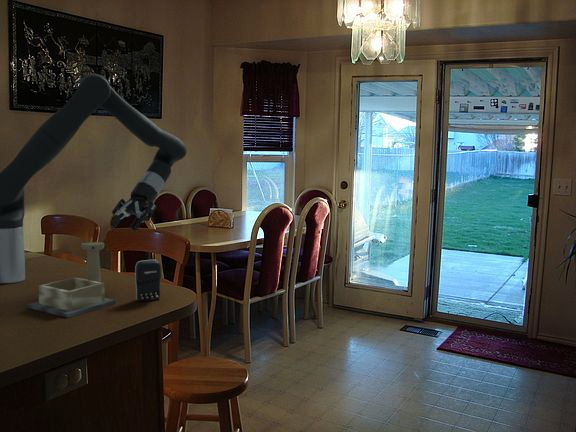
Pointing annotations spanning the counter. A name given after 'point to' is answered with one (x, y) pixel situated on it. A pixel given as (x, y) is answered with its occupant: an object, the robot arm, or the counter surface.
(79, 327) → the counter surface
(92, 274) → the handle
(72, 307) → the cream grey square tray
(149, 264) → the battery charger
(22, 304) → the counter surface
